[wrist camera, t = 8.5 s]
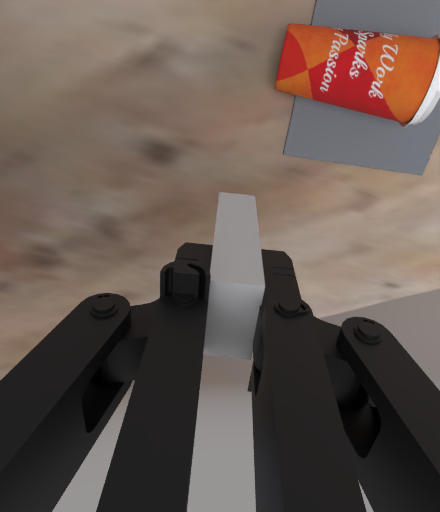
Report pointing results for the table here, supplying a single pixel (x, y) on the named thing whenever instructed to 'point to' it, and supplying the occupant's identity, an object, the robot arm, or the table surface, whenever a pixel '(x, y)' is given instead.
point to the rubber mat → (357, 123)
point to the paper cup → (362, 71)
